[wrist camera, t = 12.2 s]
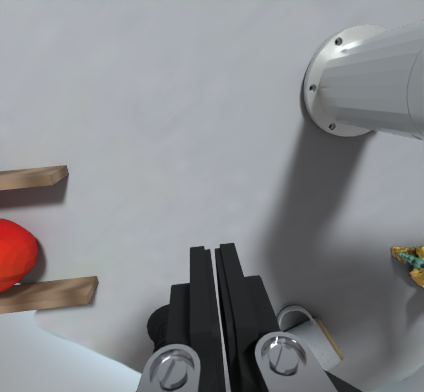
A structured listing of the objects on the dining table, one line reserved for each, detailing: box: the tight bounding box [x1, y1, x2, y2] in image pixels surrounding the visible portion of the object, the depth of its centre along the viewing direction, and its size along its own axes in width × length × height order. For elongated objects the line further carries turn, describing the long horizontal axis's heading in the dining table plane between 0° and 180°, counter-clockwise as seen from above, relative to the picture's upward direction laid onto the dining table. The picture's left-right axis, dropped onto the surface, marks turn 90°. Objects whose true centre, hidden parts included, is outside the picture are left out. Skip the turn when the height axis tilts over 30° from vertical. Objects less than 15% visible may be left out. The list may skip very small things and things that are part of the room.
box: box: [0, 165, 99, 314], centre depth 36 cm, size 17×18×4 cm
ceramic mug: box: [277, 306, 344, 371], centre depth 45 cm, size 11×8×8 cm
